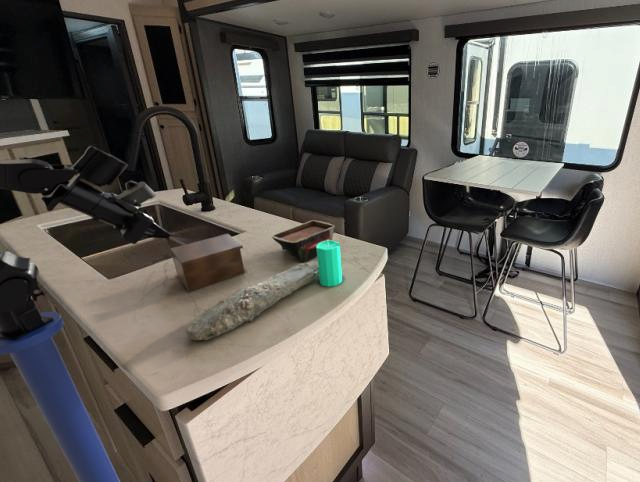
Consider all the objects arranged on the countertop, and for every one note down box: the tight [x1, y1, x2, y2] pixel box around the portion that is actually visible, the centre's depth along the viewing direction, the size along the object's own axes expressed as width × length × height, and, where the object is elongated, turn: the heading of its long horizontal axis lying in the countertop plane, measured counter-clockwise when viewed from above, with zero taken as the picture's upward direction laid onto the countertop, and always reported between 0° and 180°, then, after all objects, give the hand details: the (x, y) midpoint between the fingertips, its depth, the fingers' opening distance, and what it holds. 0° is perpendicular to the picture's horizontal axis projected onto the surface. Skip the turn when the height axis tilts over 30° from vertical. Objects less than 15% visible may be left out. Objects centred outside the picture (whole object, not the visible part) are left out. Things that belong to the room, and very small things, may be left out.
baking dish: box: [271, 219, 336, 263], centre depth 100 cm, size 14×18×10 cm
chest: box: [170, 249, 245, 293], centre depth 87 cm, size 14×12×7 cm
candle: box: [316, 239, 343, 288], centre depth 83 cm, size 6×6×12 cm
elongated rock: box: [185, 260, 319, 341], centre depth 76 cm, size 35×5×10 cm
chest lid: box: [169, 233, 244, 266], centre depth 85 cm, size 14×12×1 cm
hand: (169, 236), depth 79 cm, fingers closed
